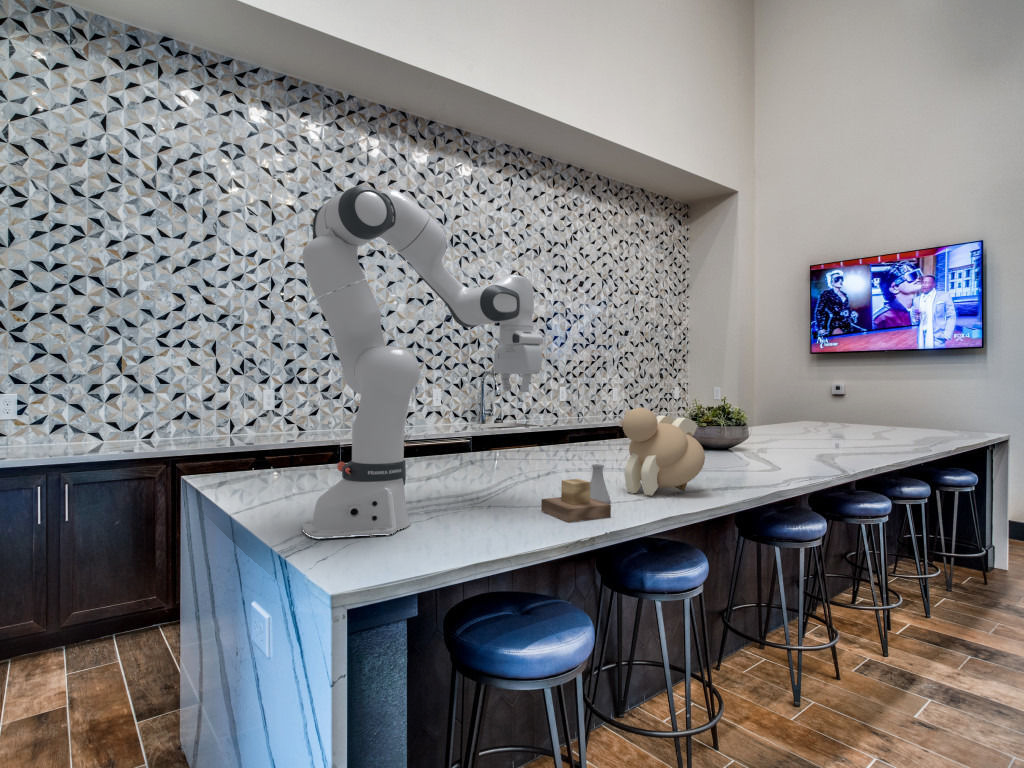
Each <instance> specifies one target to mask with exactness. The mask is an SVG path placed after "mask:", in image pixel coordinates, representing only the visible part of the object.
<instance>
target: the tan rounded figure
mask: <svg viewBox="0 0 1024 768" xmlns="http://www.w3.org/2000/svg"><path fill="white" fill-rule="evenodd" d="M623 414H624V418H622V417H621V418H620V417H619V418H618V420H617V426H618V427H620V428H621V427H622V430H623V431H622V432H624V435H625V436H626V437H627V438H628V439H629V440H630V443H629V446H628V451H629V455H630V456H629V458H628V460H627V461H626V464H625V468H624V481H625V487H626V490H627V493H628V492H630V493H629V494H631V493H636V494H637V492H638V491H639V490H640V488H641V487H642V491H643V494H644V495H647V496H653V495H654V493H656V491H657V489H658V488H663V489H670V488H674V489H677V490H680V491H683V492H685V491H686V487H687V486H688V485H687V484H688V483H690V482H691V481H692V480H694V479H695V478H696V477H697V476H698V475H699V474H700V473H701V471H702V469H703V468H704V465H705V460H706V454H705V450H704V448H703V446H702V445H701V443H700V442H699V441H698V439H696V438H695V437H693V436H694V435H695V433H696V431H697V429H698V427H699V425H698V423H696V421H694V420H692V419H691V418H689V417H688V418H687V417H677V418H676V419H675V418H673V417H672V416H668V415H657V416H656V414H655V413H654V412H653V411H652V410H650V409H648V408H646V407H636V408H635V407H634V408H633V409H631V410H629V408H628V407H625V408H624V409H623Z"/></svg>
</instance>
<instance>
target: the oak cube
mask: <svg viewBox="0 0 1024 768" xmlns="http://www.w3.org/2000/svg"><path fill="white" fill-rule="evenodd" d="M590 482H591V481H588V480H584V479H580V478H572V479H561V490H560V491H561V493H560V494H561V496H560V497H561V501H564V502H566V503H569V504H572V505H576V504H585V503H590Z"/></svg>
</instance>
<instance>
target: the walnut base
mask: <svg viewBox="0 0 1024 768" xmlns="http://www.w3.org/2000/svg"><path fill="white" fill-rule="evenodd" d="M542 511H543V513H545V514H547V513H548V514H547V515H549V514H550V516H552V515H553V516H552V517H554V516H555V517H554V518H556V517H557V519H559V520H562V521H564V522H566V523H574V522H573V521H576V522H581V521H580V520H584V521H591V519H592V520H599V518H601V519H607V518H608V517H609V518H611V513H612V505H611V504H610V503H609V504H607V503H604V502H601V501H598V500H595V499H592V498H590V503H585V504H576V505H572V504H569V503H566V502H564V501H561V496H559V497H549V498H547V497H546V498H541V512H542ZM609 518H608V519H609Z"/></svg>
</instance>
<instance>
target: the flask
mask: <svg viewBox="0 0 1024 768" xmlns="http://www.w3.org/2000/svg"><path fill="white" fill-rule="evenodd" d="M591 467H592V475H591V479H590V481H589V482H590V498H592V499H595V500H598V501H601V502H604V503H607V504H610V503H611V501H612V500H611V498H610V495H609V493H608V489H607V486H606V483H605V479H604V478H605V477H604V473H603V471H604V469H603V468H604V467H605V465H604V464H603V463H602V464H601V463H593V464H591Z"/></svg>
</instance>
